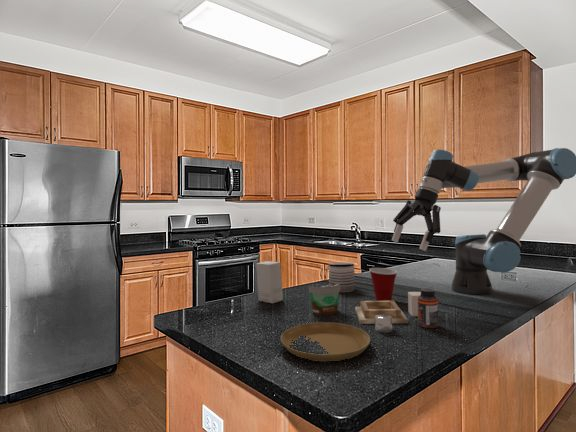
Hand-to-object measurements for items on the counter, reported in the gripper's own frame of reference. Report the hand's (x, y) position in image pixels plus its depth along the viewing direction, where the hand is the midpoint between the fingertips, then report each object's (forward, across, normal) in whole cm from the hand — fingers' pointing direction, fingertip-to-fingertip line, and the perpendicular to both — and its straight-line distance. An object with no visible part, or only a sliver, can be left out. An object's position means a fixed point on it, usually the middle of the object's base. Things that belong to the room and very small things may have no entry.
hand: (407, 245), depth 137 cm
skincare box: (+40, -33, -25) cm, 58 cm away
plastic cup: (+22, -8, +7) cm, 25 cm away
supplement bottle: (+22, +22, -3) cm, 31 cm away
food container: (+33, -6, -18) cm, 38 cm away
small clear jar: (+28, +16, -15) cm, 36 cm away
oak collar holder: (+26, +6, -7) cm, 28 cm away
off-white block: (+21, +11, +4) cm, 24 cm away
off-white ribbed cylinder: (+27, -32, +6) cm, 42 cm away
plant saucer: (+37, +18, -36) cm, 54 cm away
